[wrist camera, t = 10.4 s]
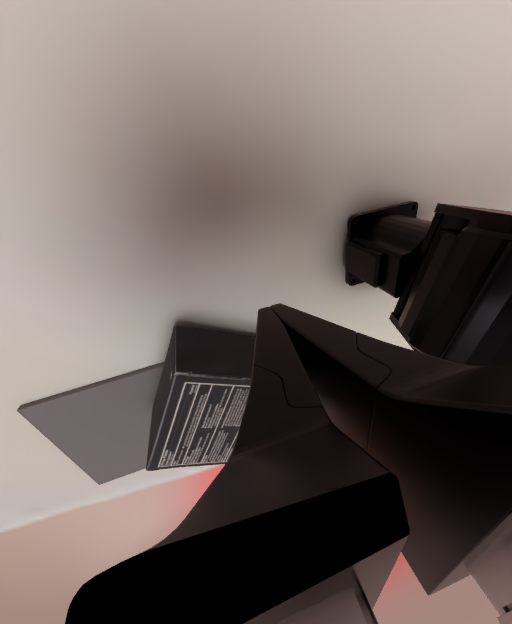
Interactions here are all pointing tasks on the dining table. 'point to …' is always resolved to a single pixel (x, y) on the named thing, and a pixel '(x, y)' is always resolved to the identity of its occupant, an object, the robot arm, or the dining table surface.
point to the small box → (199, 398)
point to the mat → (101, 423)
